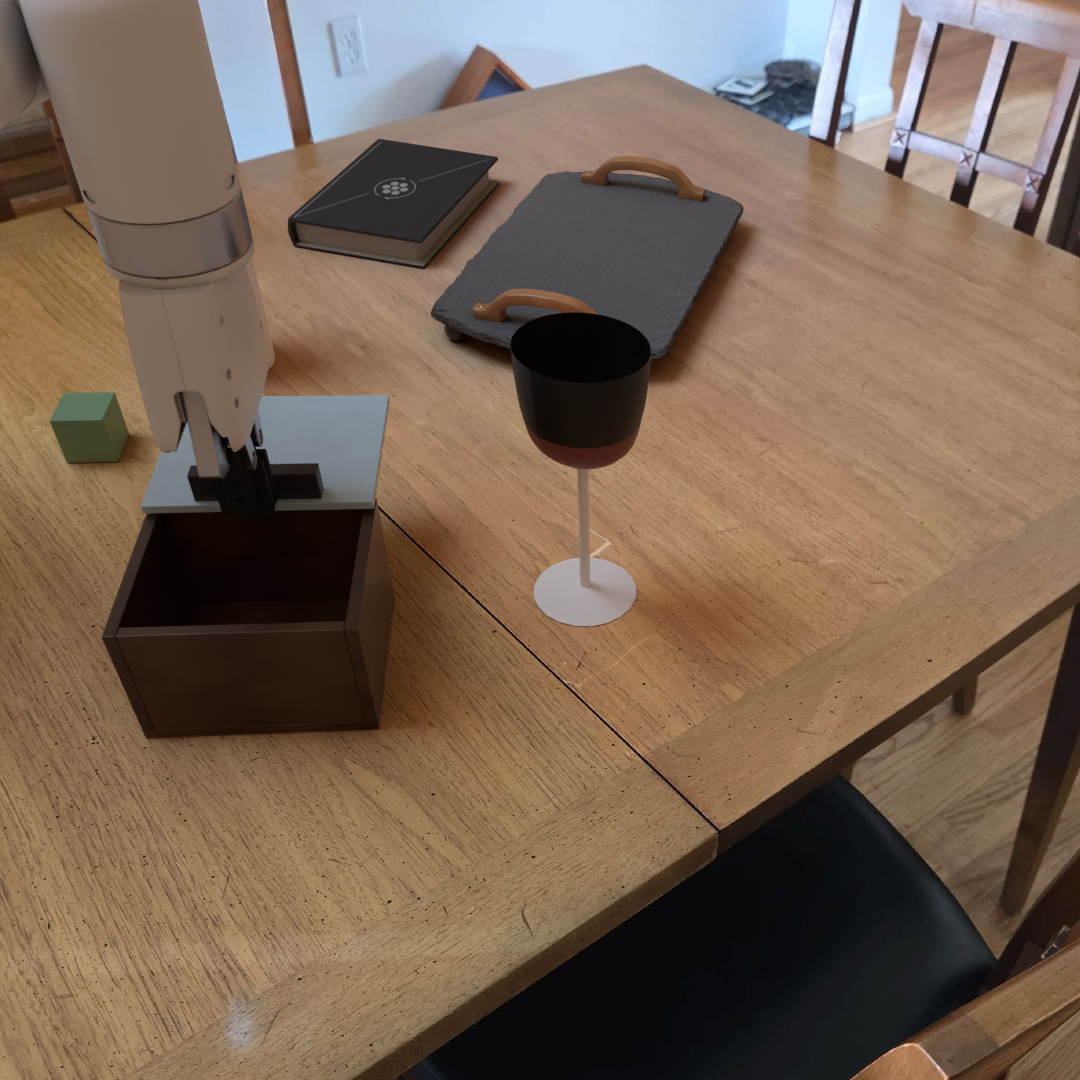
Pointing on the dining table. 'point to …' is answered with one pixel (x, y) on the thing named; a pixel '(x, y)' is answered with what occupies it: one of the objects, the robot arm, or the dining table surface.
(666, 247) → the serving tray
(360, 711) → the case
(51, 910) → the dining table surface
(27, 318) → the dining table surface
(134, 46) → the robot arm
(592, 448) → the wineglass
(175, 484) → the sliding box lid
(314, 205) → the book
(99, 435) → the block
